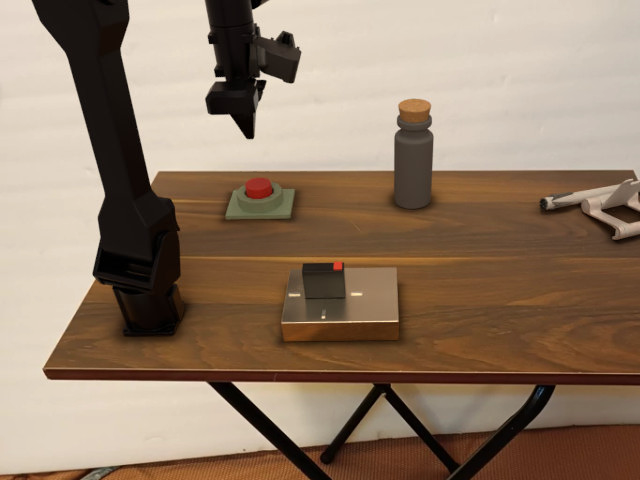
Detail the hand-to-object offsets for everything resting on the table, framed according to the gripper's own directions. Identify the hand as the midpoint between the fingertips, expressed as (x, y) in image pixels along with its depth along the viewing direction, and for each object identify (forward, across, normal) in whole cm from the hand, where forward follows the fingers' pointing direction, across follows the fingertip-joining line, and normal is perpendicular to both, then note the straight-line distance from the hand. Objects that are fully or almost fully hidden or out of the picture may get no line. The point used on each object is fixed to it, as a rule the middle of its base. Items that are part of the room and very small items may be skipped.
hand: (250, 138), depth 92 cm
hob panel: (+11, -27, -14) cm, 32 cm away
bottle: (+11, +1, -24) cm, 27 cm away
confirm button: (+9, 0, 0) cm, 9 cm away
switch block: (+11, 0, 0) cm, 11 cm away
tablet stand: (+7, -10, -56) cm, 57 cm away
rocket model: (+10, -4, -43) cm, 44 cm away
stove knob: (+8, -27, -12) cm, 31 cm away
